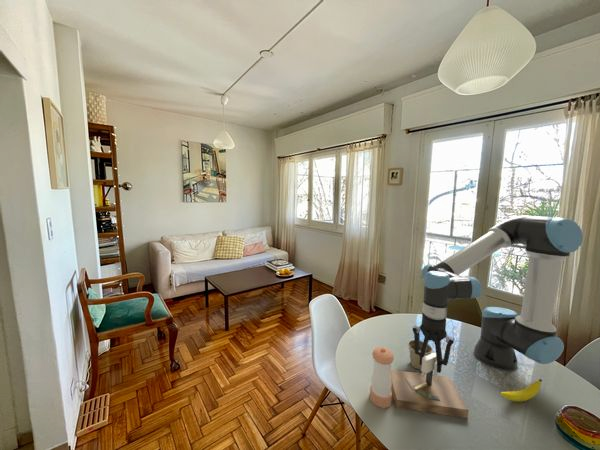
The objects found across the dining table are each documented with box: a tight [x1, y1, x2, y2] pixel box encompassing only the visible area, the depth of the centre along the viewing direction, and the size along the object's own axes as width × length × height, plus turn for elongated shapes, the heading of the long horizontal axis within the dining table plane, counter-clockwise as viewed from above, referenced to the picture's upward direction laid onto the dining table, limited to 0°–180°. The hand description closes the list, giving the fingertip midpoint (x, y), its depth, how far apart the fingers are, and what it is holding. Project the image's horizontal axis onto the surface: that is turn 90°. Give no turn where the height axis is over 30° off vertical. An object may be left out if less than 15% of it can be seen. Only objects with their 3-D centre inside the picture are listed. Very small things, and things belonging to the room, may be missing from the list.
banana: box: [500, 378, 543, 403], centre depth 87 cm, size 3×19×6 cm, turn 104°
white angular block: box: [414, 351, 437, 390], centre depth 89 cm, size 11×2×11 cm, turn 118°
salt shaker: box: [369, 346, 395, 409], centre depth 86 cm, size 7×7×19 cm
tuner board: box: [391, 369, 469, 419], centre depth 89 cm, size 22×15×3 cm
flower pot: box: [407, 339, 434, 370], centre depth 105 cm, size 9×9×9 cm
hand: (429, 376), depth 90 cm, fingers closed on white angular block, 3 cm apart
